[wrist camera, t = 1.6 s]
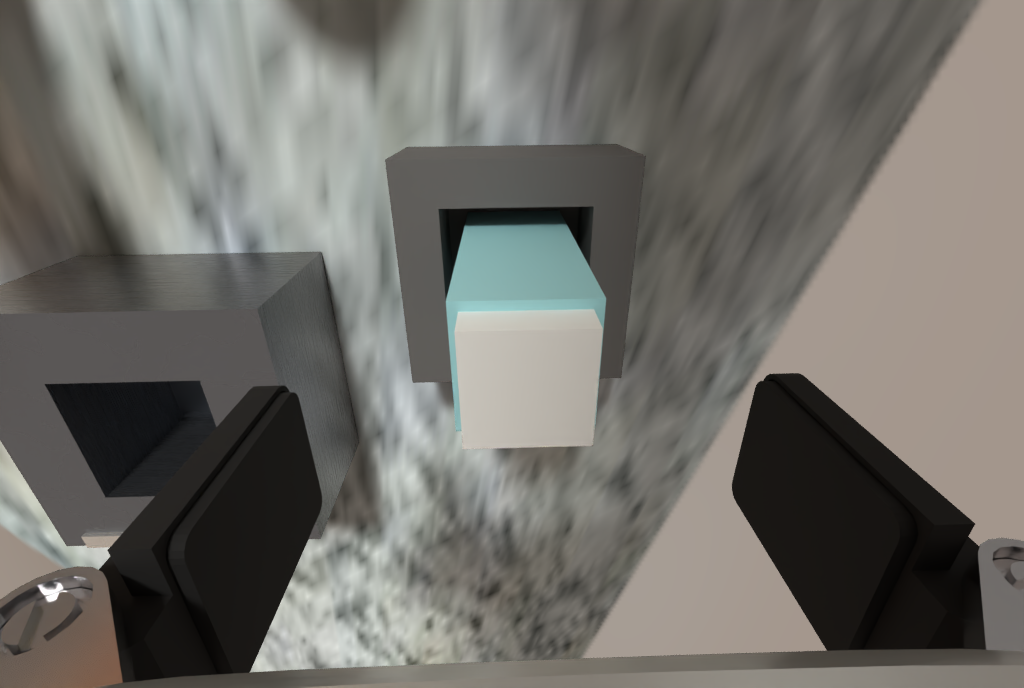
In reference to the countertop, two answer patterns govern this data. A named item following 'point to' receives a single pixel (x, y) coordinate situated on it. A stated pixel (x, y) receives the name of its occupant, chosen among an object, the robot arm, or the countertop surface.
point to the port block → (160, 374)
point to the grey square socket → (510, 187)
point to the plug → (524, 333)
